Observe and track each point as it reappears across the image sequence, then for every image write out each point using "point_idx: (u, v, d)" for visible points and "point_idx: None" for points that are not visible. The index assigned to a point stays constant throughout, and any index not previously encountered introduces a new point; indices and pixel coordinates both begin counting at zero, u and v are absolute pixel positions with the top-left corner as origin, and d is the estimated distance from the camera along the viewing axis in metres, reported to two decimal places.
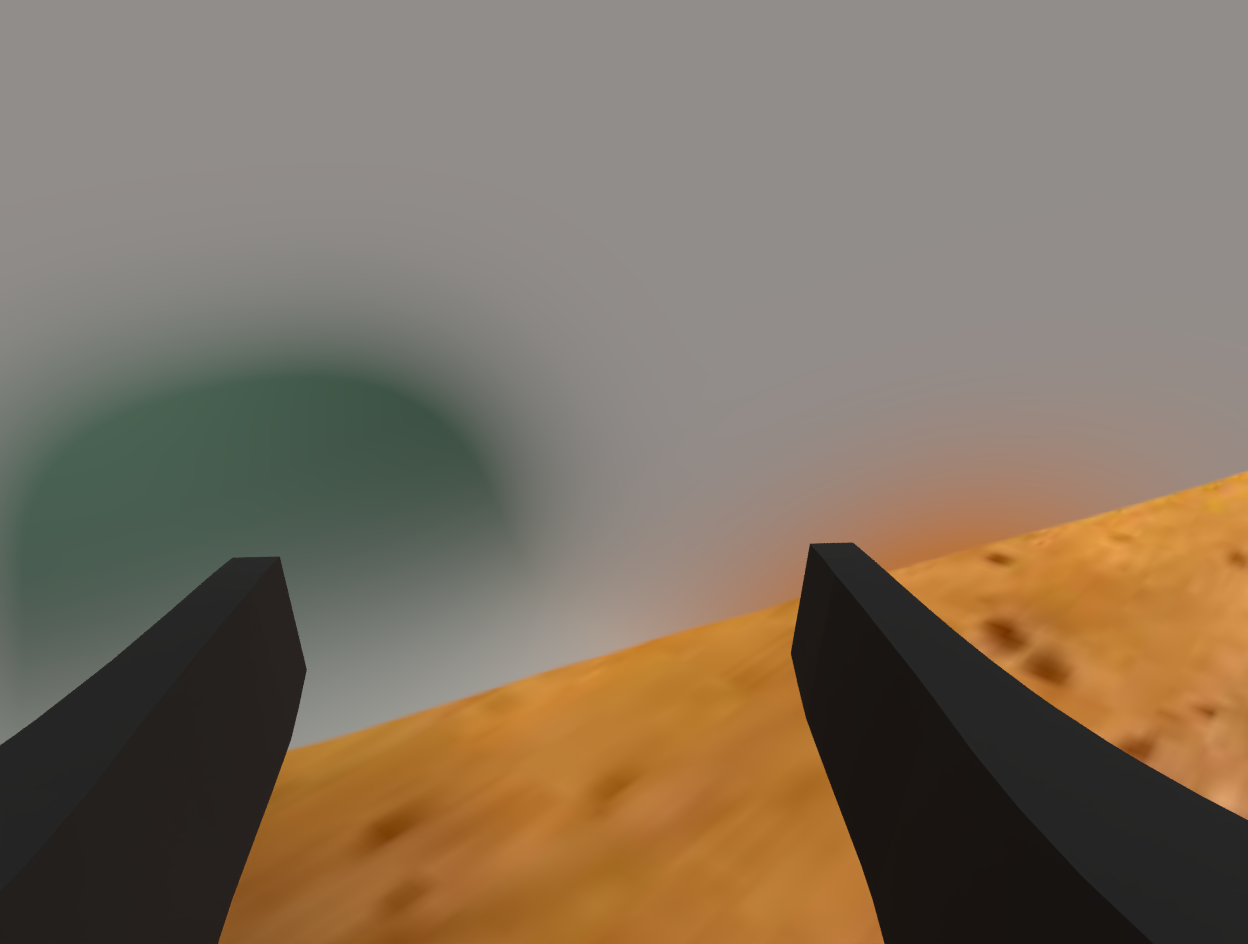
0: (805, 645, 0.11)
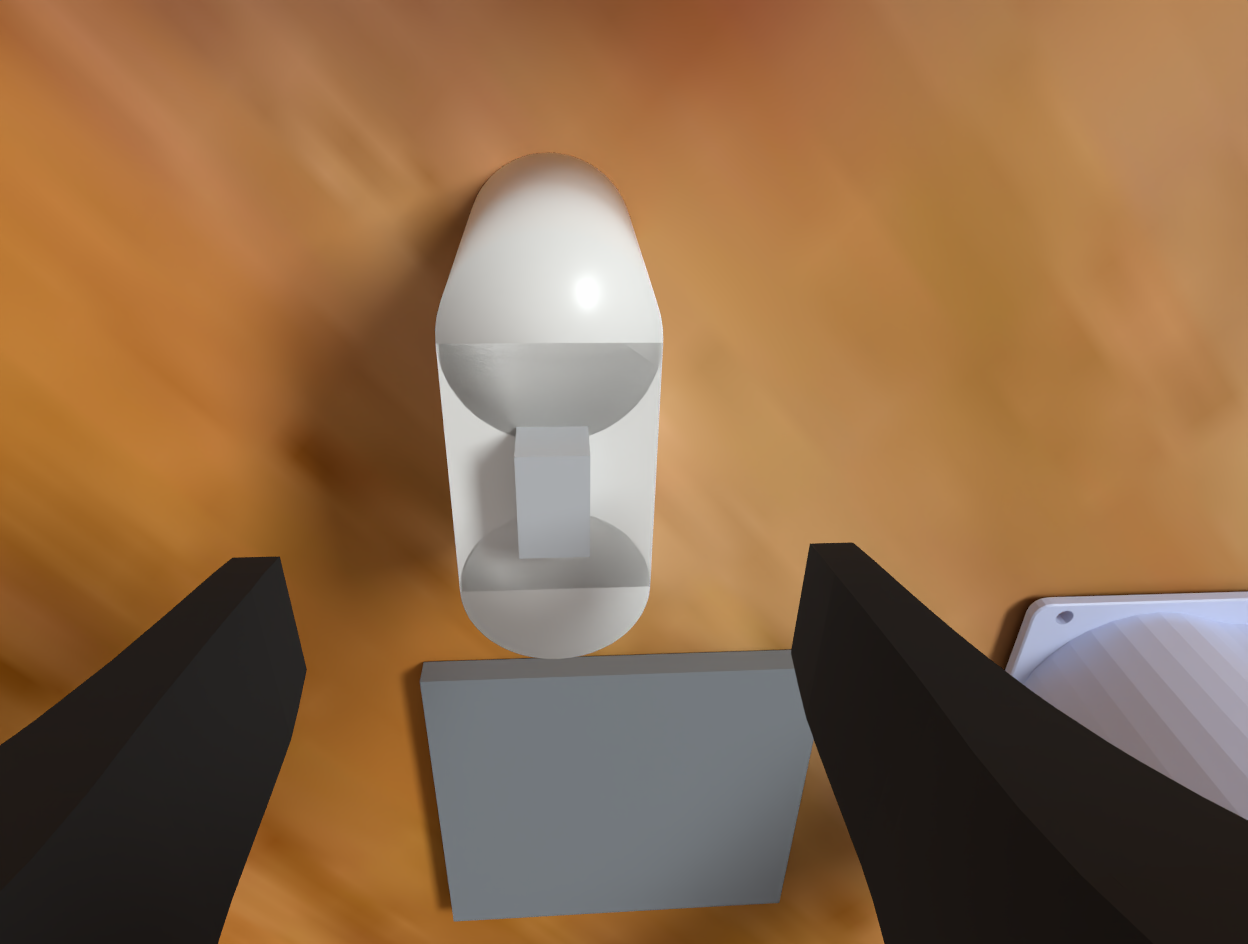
0: (805, 645, 0.11)
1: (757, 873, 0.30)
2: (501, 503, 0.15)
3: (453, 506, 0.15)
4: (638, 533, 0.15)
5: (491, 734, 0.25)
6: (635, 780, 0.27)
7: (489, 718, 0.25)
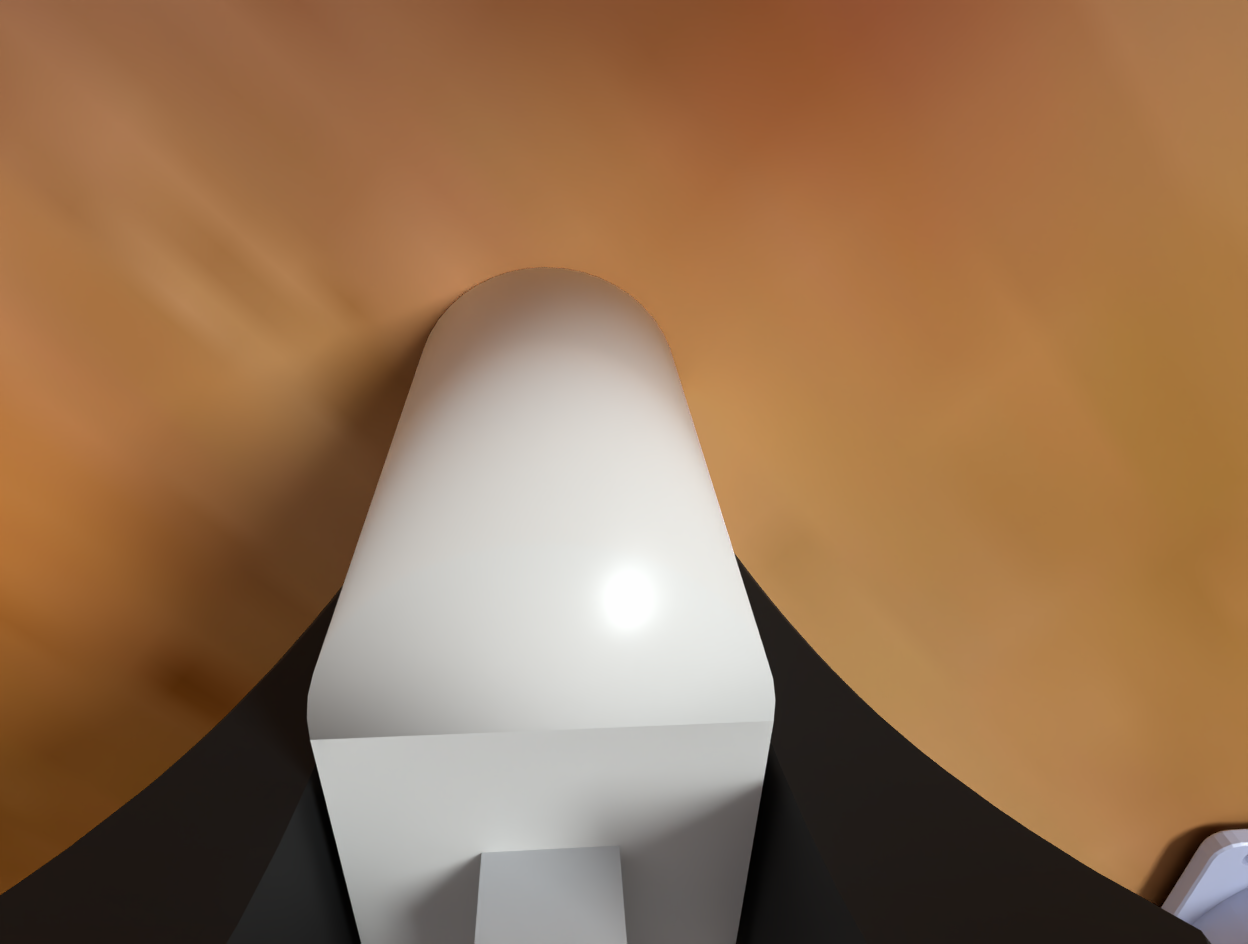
0: None
1: None
2: None
3: None
4: None
5: None
6: None
7: None
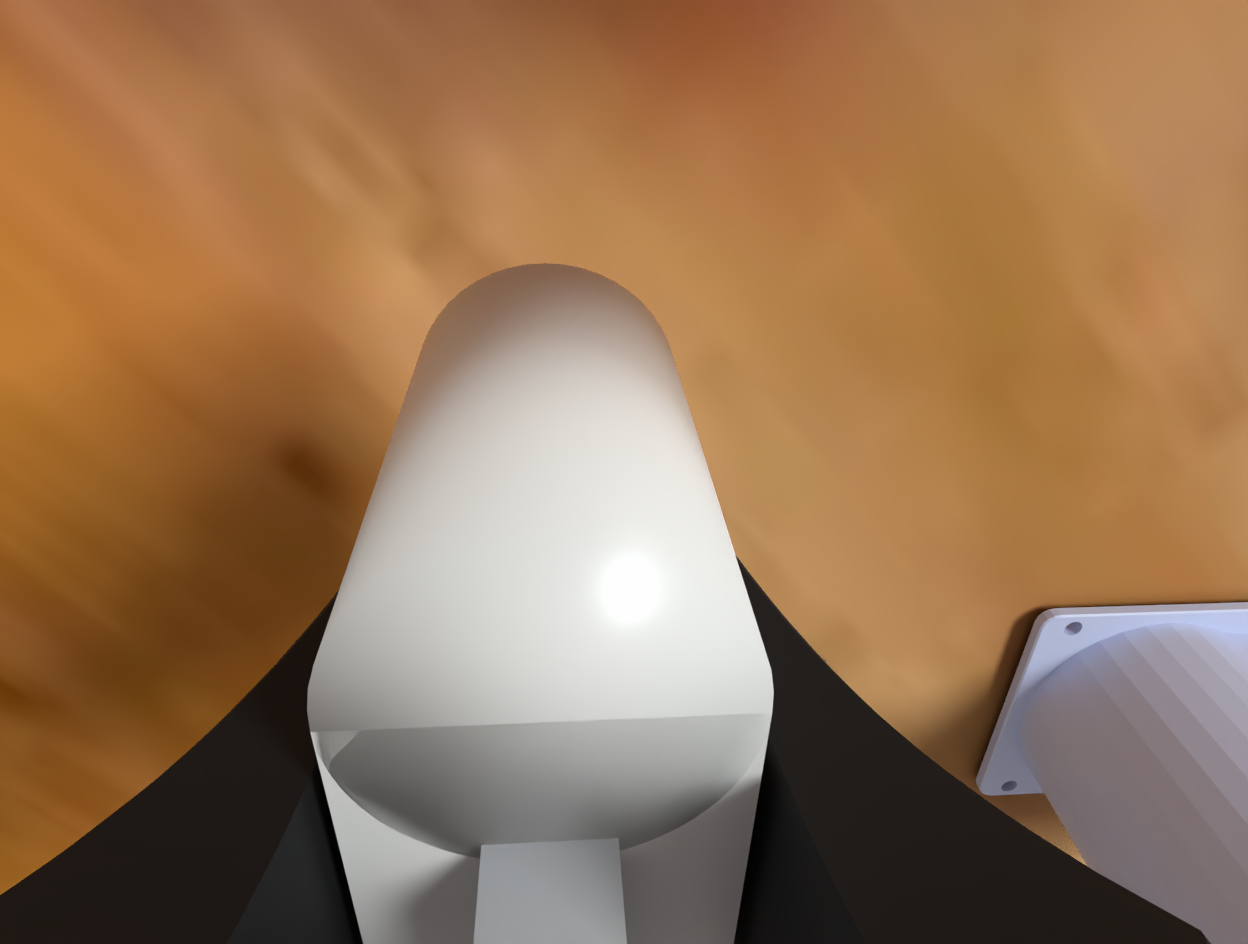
0: None
1: None
2: None
3: None
4: None
5: None
6: None
7: None
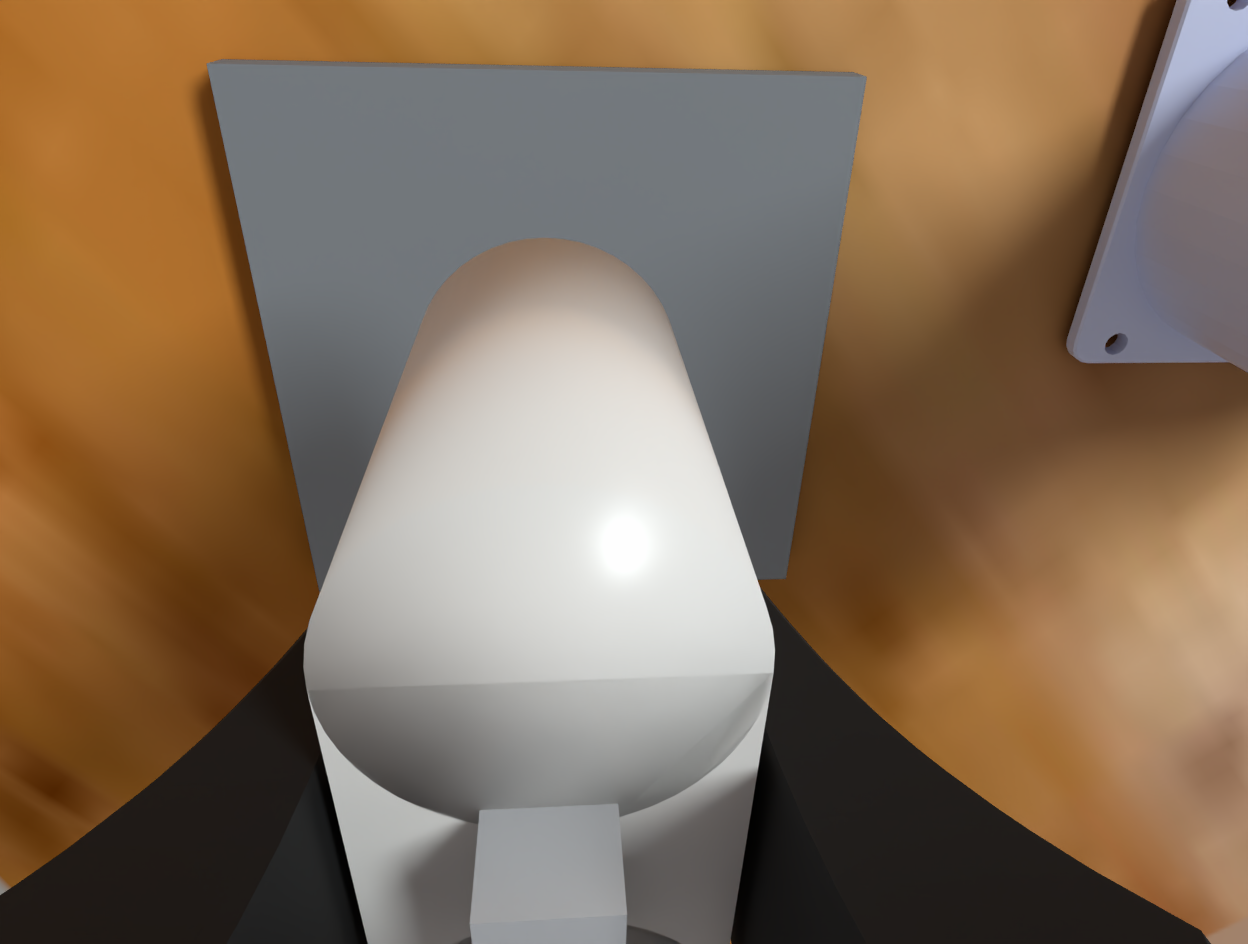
0: None
1: (755, 519, 0.21)
2: (456, 915, 0.08)
3: (366, 923, 0.08)
4: (704, 941, 0.08)
5: (337, 198, 0.16)
6: None
7: (330, 159, 0.16)
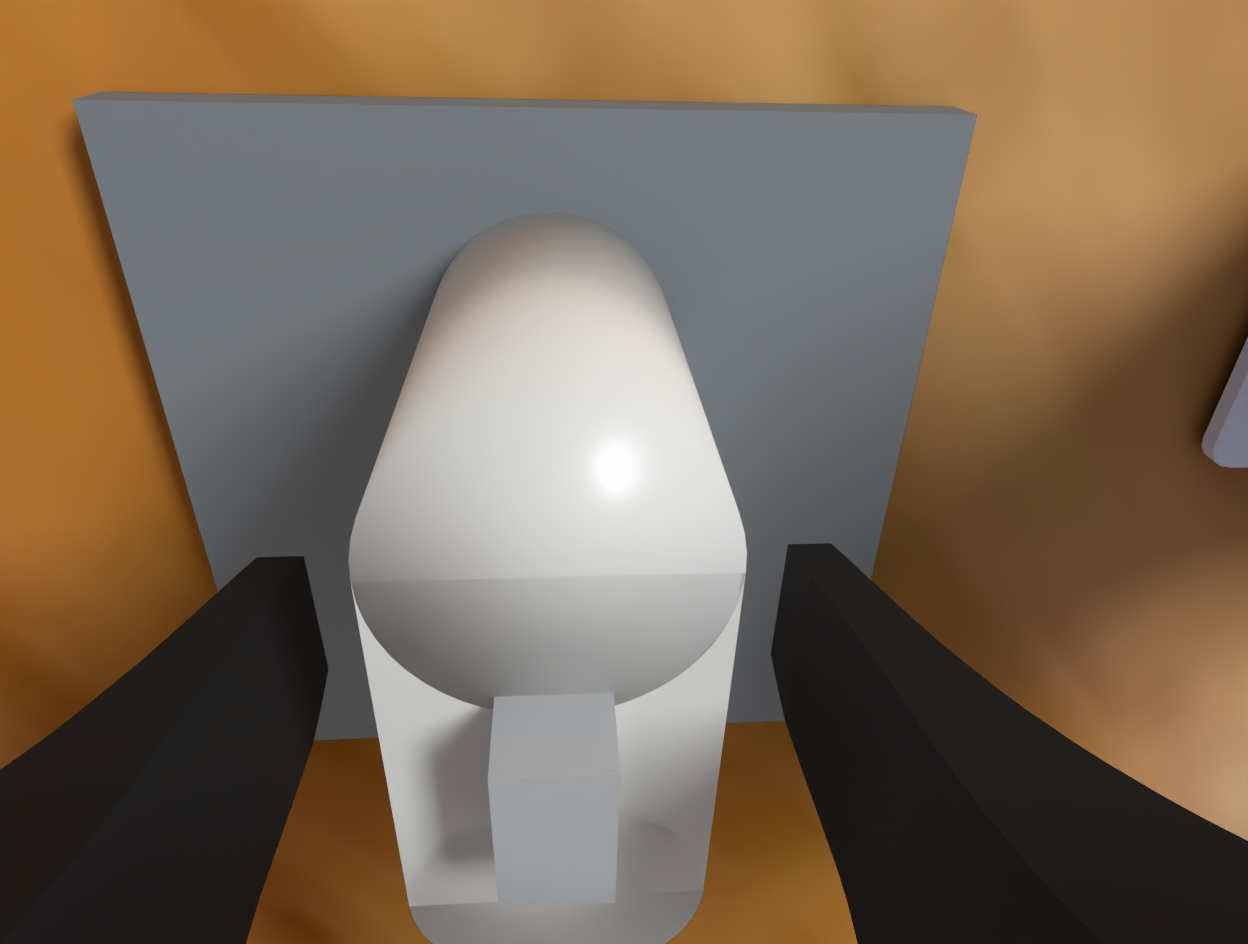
0: (783, 646, 0.11)
1: None
2: (472, 797, 0.09)
3: (393, 803, 0.09)
4: (689, 827, 0.10)
5: (263, 277, 0.12)
6: None
7: (250, 227, 0.12)
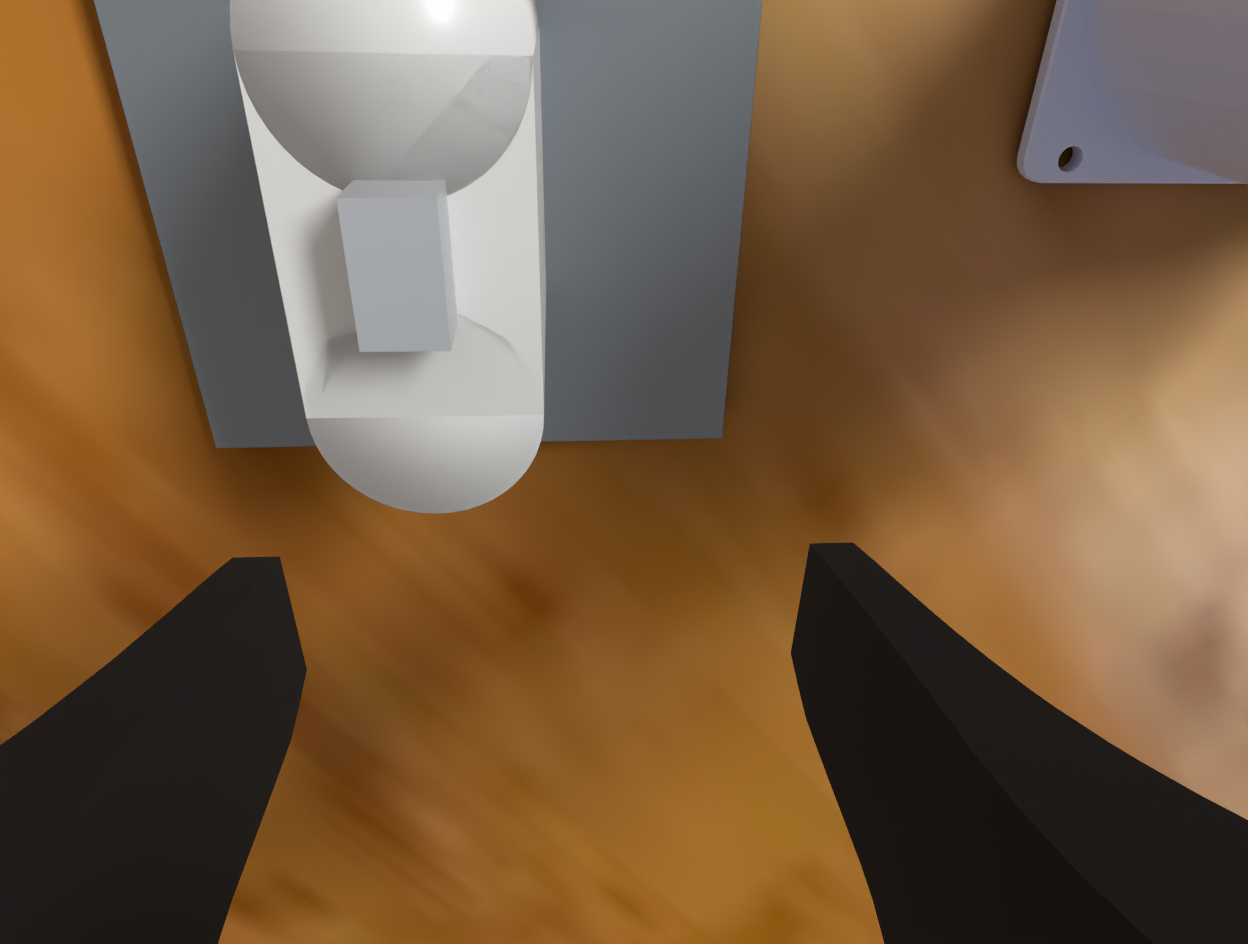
0: (805, 645, 0.11)
1: (685, 366, 0.19)
2: (346, 292, 0.12)
3: (284, 295, 0.12)
4: (523, 339, 0.12)
5: None
6: None
7: None
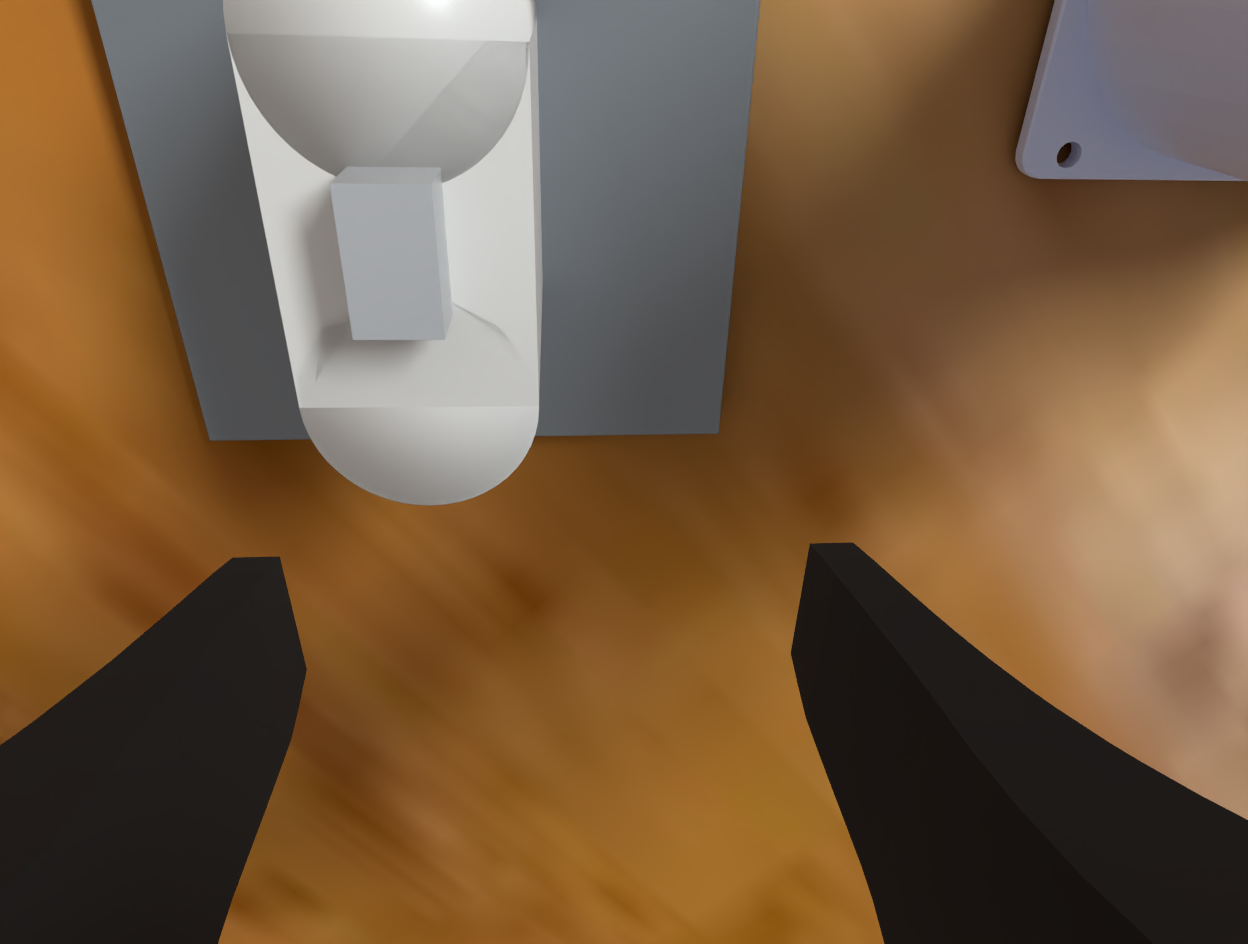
0: (805, 645, 0.11)
1: (681, 361, 0.19)
2: (339, 281, 0.11)
3: (277, 283, 0.11)
4: (518, 329, 0.12)
5: None
6: None
7: None
